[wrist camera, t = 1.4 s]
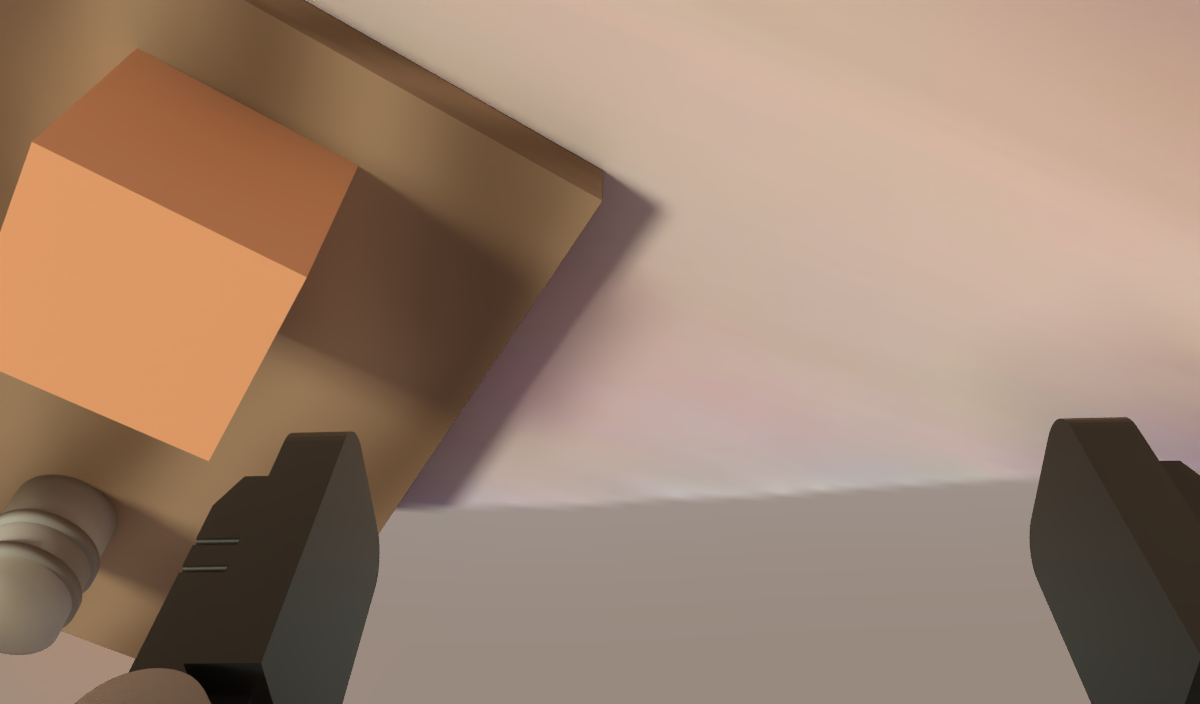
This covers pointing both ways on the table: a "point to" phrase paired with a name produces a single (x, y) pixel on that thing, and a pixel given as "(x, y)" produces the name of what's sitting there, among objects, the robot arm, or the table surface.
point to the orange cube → (159, 250)
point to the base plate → (317, 316)
